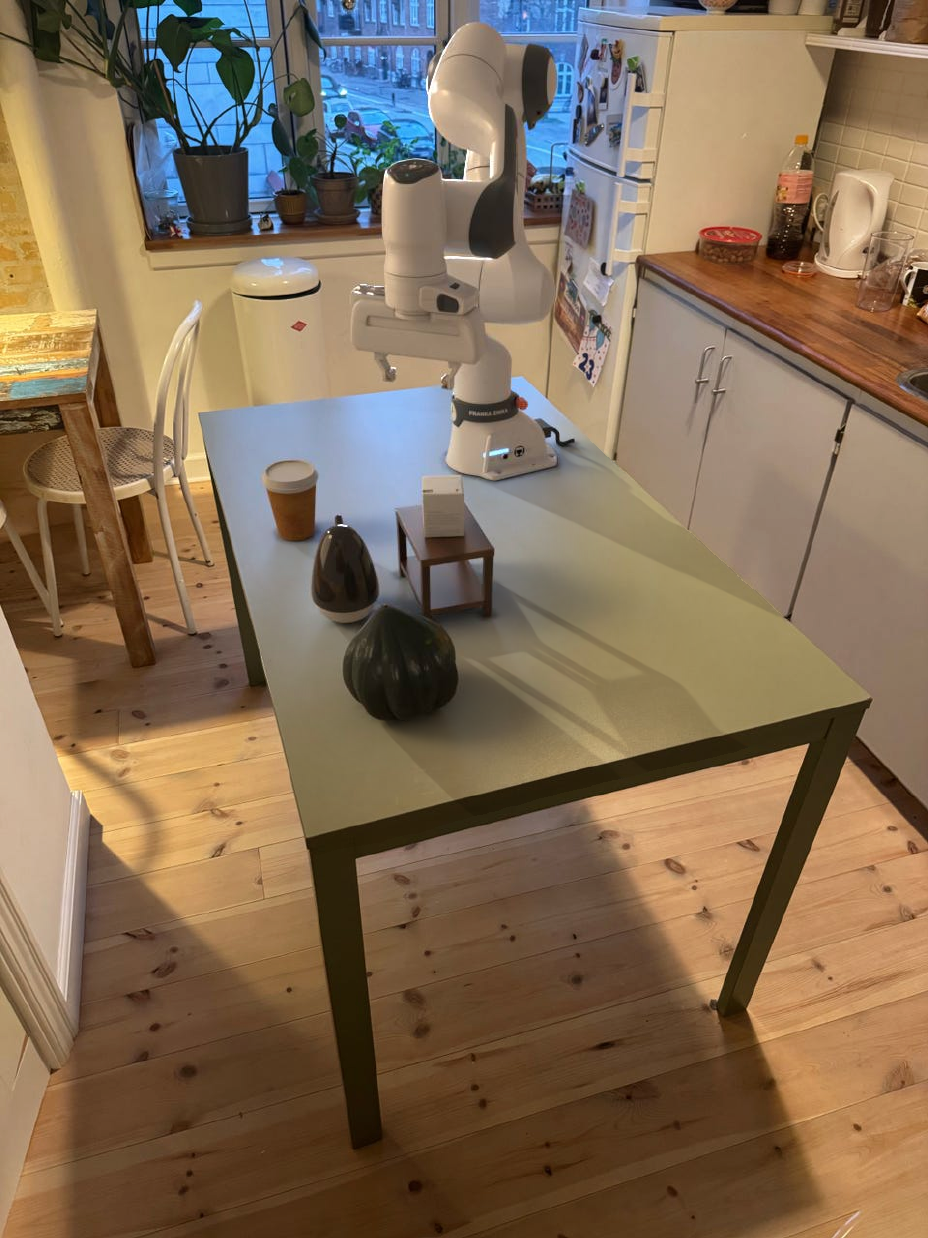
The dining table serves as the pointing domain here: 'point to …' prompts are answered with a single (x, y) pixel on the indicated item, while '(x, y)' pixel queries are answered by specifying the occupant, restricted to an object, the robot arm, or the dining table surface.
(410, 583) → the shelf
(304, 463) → the disposable coffee cup
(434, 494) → the product carton
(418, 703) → the squash
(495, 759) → the dining table surface
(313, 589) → the dark brown egg timer
